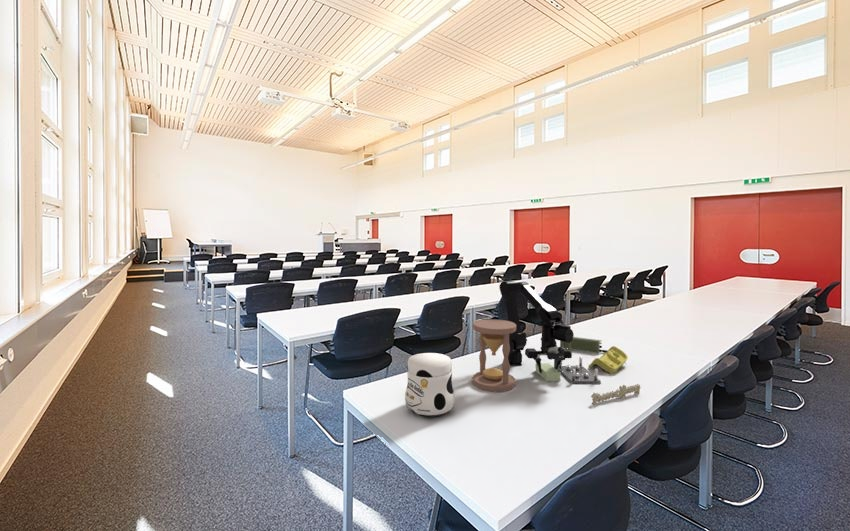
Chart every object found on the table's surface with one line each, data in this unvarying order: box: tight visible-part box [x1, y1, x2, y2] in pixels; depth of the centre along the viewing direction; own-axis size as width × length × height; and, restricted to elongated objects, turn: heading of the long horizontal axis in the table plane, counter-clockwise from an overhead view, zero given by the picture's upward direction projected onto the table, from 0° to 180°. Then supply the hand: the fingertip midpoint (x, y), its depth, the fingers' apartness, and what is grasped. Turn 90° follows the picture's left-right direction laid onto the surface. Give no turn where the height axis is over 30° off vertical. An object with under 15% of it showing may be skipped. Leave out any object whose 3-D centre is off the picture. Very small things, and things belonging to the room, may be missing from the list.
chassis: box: [557, 356, 602, 385], centre depth 165 cm, size 12×18×6 cm, turn 0°
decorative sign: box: [590, 383, 641, 405], centre depth 142 cm, size 24×1×5 cm, turn 113°
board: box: [535, 362, 562, 382], centre depth 165 cm, size 6×12×4 cm, turn 6°
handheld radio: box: [559, 336, 609, 354], centre depth 201 cm, size 7×3×25 cm
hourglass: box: [471, 318, 516, 393], centre depth 156 cm, size 18×18×25 cm
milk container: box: [404, 352, 455, 418], centre depth 133 cm, size 17×17×18 cm
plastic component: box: [588, 345, 628, 374], centre depth 177 cm, size 20×7×10 cm
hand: (547, 372), depth 165 cm, fingers open, 6 cm apart
